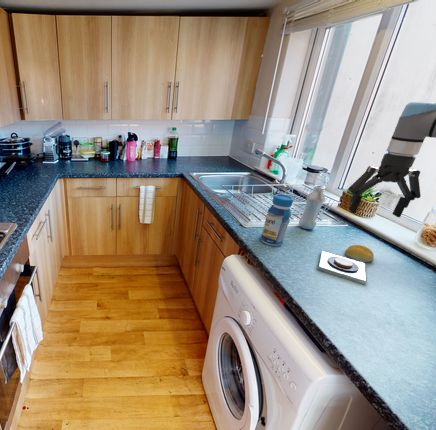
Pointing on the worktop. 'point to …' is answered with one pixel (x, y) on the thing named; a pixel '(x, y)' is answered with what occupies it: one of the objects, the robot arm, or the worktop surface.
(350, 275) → the push button
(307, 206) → the plastic bottle
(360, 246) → the bread roll
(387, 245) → the worktop surface
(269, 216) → the beverage bottle
